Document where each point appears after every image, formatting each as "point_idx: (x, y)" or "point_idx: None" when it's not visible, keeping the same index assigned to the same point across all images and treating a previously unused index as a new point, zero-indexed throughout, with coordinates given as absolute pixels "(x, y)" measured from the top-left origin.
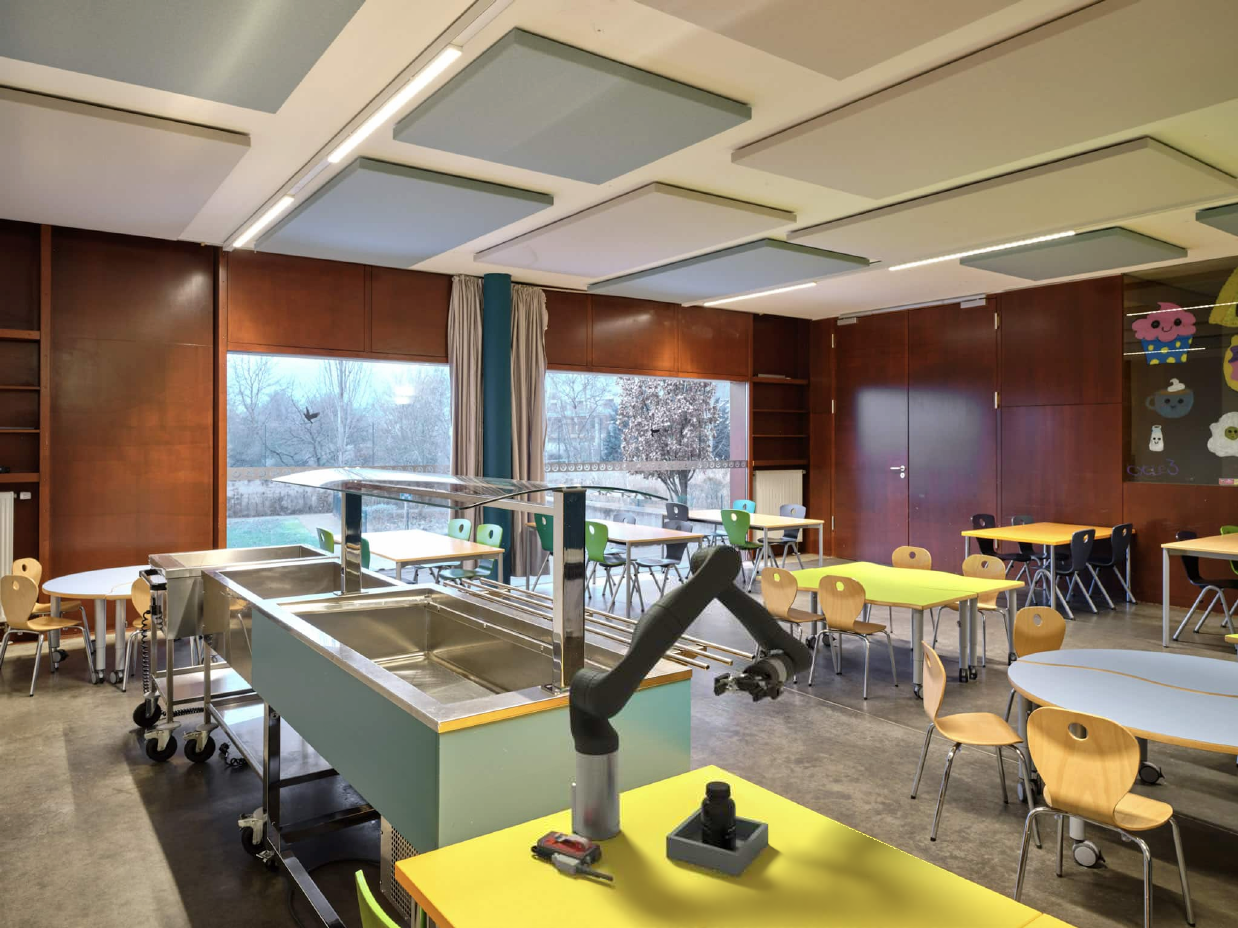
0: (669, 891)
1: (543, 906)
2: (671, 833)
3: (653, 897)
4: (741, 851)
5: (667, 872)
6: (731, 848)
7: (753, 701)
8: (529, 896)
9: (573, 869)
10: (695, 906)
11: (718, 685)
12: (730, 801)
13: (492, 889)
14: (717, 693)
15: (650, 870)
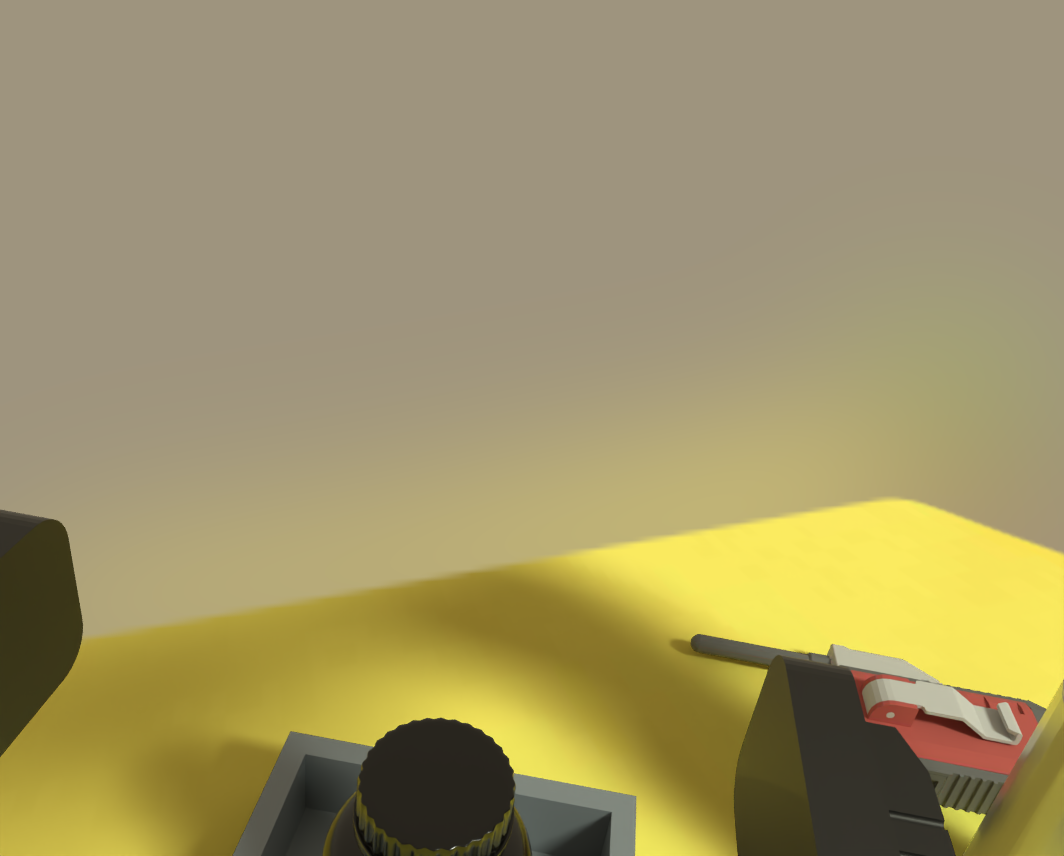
0: (513, 665)
1: (777, 552)
2: (627, 826)
3: (546, 632)
4: (277, 766)
5: (565, 757)
6: None
7: (66, 646)
8: (838, 574)
9: (828, 651)
10: (413, 623)
11: (796, 674)
12: (351, 821)
13: (938, 578)
14: (750, 737)
15: (627, 753)
